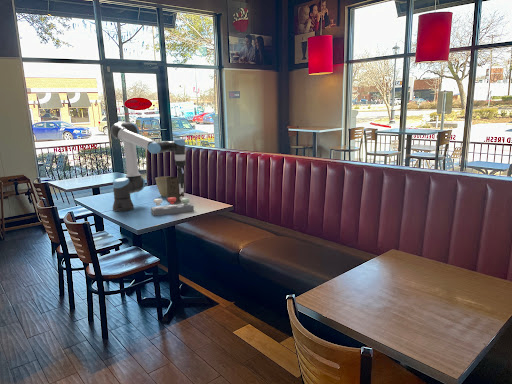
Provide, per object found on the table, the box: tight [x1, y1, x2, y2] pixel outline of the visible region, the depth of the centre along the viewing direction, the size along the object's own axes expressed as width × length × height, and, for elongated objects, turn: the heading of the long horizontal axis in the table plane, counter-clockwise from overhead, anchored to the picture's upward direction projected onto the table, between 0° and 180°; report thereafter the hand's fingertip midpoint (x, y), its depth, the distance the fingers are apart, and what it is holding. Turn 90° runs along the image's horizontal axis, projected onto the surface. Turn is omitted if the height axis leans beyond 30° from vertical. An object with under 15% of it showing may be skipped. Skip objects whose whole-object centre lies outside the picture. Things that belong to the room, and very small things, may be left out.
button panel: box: [150, 202, 195, 217], centre depth 273 cm, size 29×10×4 cm, turn 115°
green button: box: [180, 197, 191, 204], centre depth 276 cm, size 6×6×4 cm
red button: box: [167, 197, 176, 205], centre depth 272 cm, size 6×6×4 cm
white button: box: [153, 198, 163, 207], centre depth 268 cm, size 6×6×4 cm
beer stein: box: [166, 176, 186, 203], centre depth 308 cm, size 15×11×20 cm
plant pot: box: [155, 176, 168, 197], centre depth 328 cm, size 15×15×16 cm
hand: (181, 192), depth 274 cm, fingers closed
